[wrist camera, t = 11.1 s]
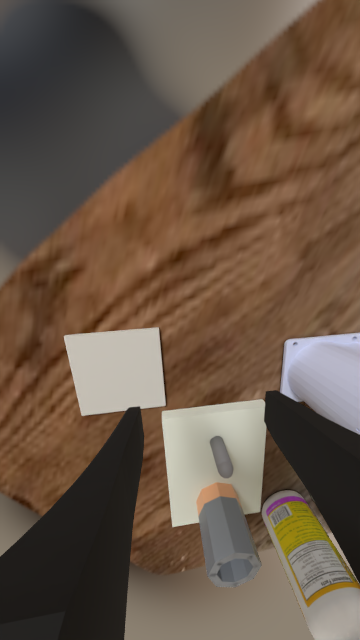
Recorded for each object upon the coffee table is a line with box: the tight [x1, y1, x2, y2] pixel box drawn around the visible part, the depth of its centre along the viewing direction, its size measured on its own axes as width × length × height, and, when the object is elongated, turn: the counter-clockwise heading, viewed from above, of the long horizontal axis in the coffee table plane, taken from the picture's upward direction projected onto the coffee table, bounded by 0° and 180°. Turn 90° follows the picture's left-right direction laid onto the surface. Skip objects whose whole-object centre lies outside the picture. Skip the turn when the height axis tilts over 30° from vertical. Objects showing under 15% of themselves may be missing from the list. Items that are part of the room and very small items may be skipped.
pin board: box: [162, 399, 266, 527], centre depth 21 cm, size 12×17×5 cm
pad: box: [64, 327, 166, 416], centre depth 19 cm, size 9×9×1 cm
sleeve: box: [196, 482, 262, 587], centre depth 21 cm, size 5×5×6 cm
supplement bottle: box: [262, 490, 360, 640], centre depth 21 cm, size 7×7×13 cm
